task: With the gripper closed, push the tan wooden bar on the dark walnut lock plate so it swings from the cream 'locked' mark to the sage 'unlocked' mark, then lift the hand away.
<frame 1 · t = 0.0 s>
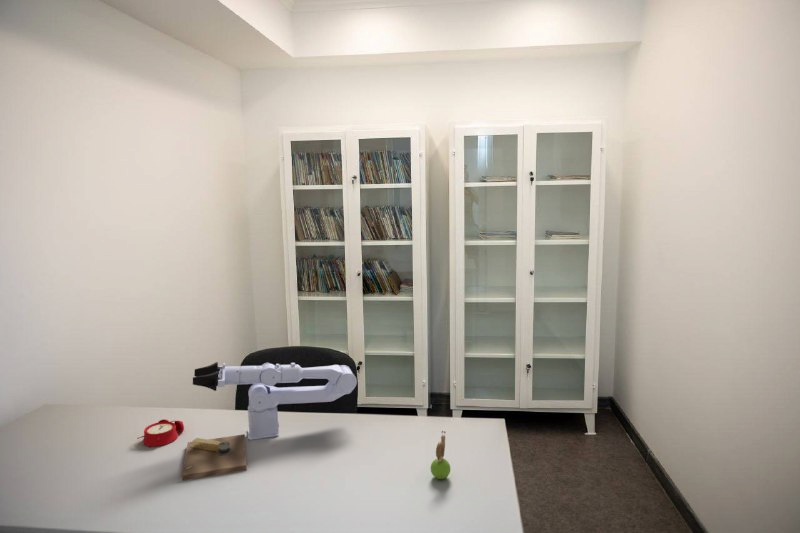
hand: (193, 376, 164), 22 cm above the table, tool horizontal, fingers open, 7 cm apart
alarm clock: (164, 438, 172), on the table
lock plate: (216, 457, 158), on the table
tan wooden bar: (211, 445, 160), point 3 cm above the table, hinge at 0.0°
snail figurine: (441, 477, 146), on the table
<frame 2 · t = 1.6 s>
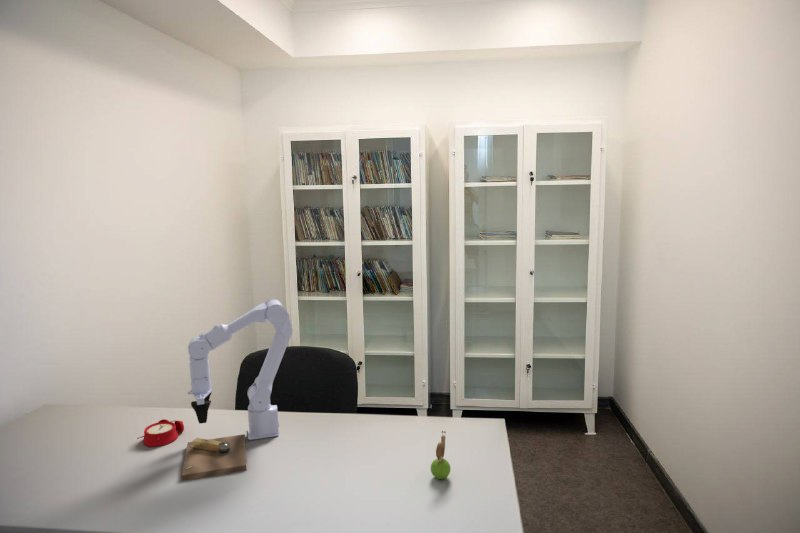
hand: (203, 417, 166), 8 cm above the table, tool pointing down, fingers open, 7 cm apart
nothing on the table moved.
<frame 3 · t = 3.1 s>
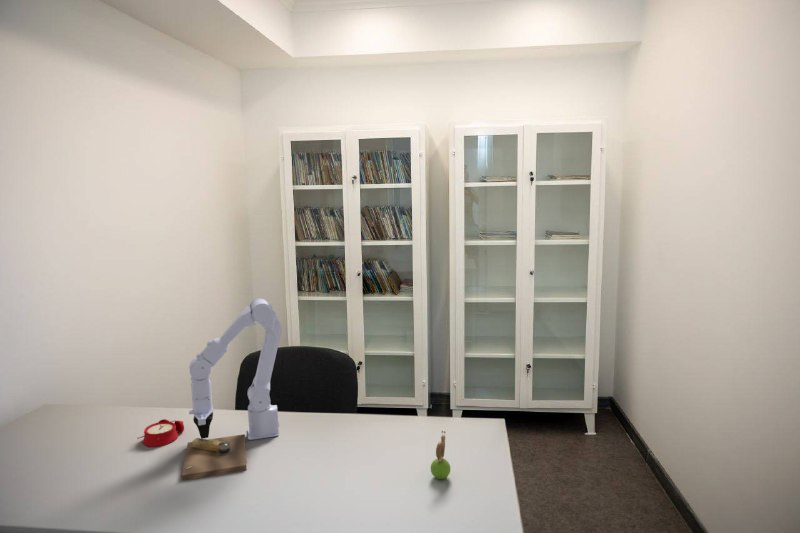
hand: (204, 437, 167), 2 cm above the table, tool pointing down, fingers closed
nothing on the table moved.
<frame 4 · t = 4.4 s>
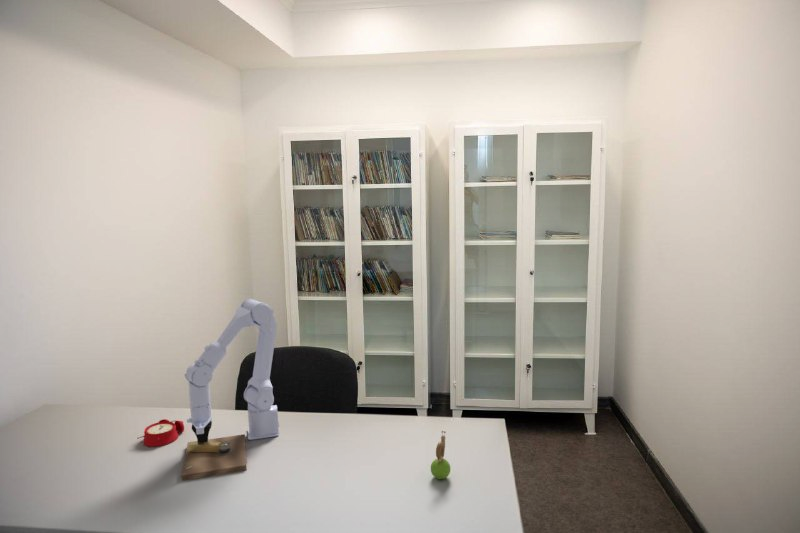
hand: (203, 446, 161), 2 cm above the table, tool pointing down, fingers closed, pressing on tan wooden bar
tan wooden bar: (209, 447, 159), point 3 cm above the table, hinge at 13.1°, touching gripper
everything else where it was.
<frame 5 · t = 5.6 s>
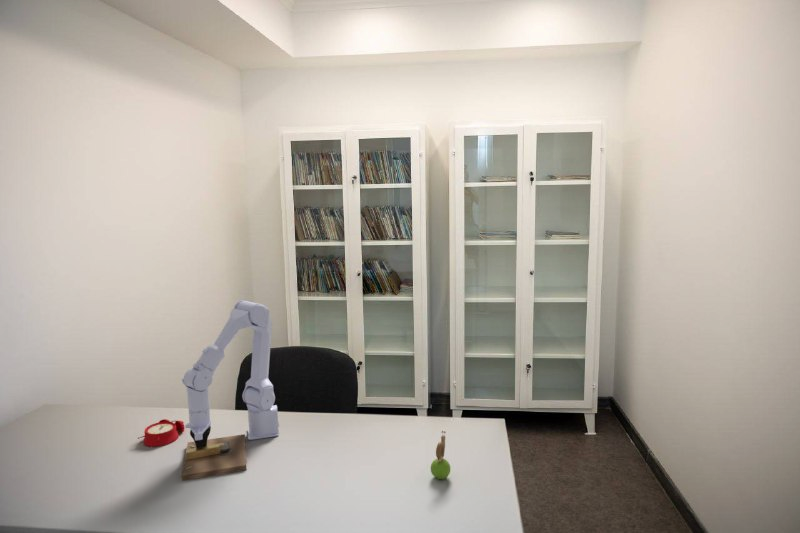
hand: (201, 452, 157), 2 cm above the table, tool pointing down, fingers closed, pressing on tan wooden bar
tan wooden bar: (208, 450, 156), point 3 cm above the table, hinge at 41.7°, touching gripper
everything else where it was.
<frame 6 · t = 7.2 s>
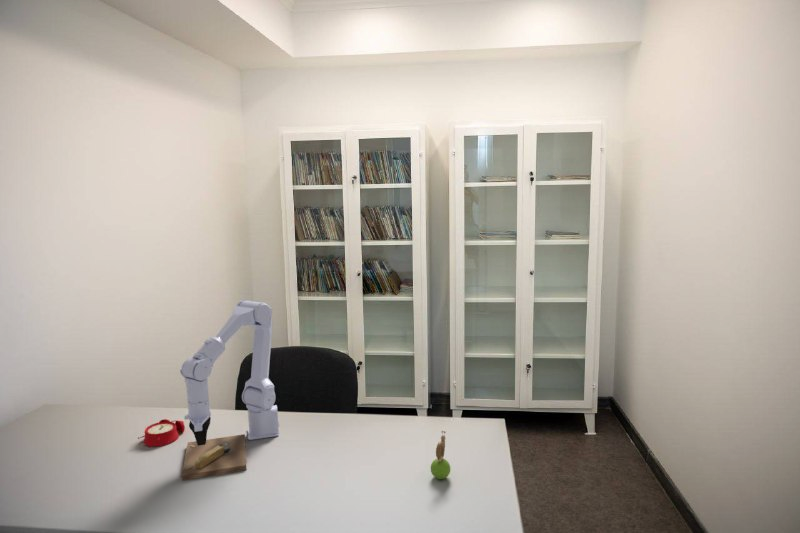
hand: (201, 444, 154), 6 cm above the table, tool pointing down, fingers closed
tan wooden bar: (213, 454, 154), point 3 cm above the table, hinge at 83.1°
everything else where it was.
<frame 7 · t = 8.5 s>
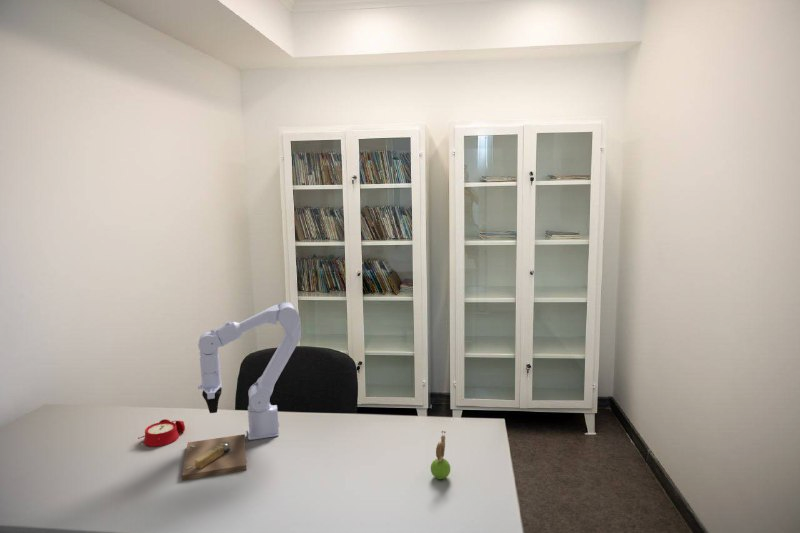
hand: (213, 412, 168), 9 cm above the table, tool pointing down, fingers closed
nothing on the table moved.
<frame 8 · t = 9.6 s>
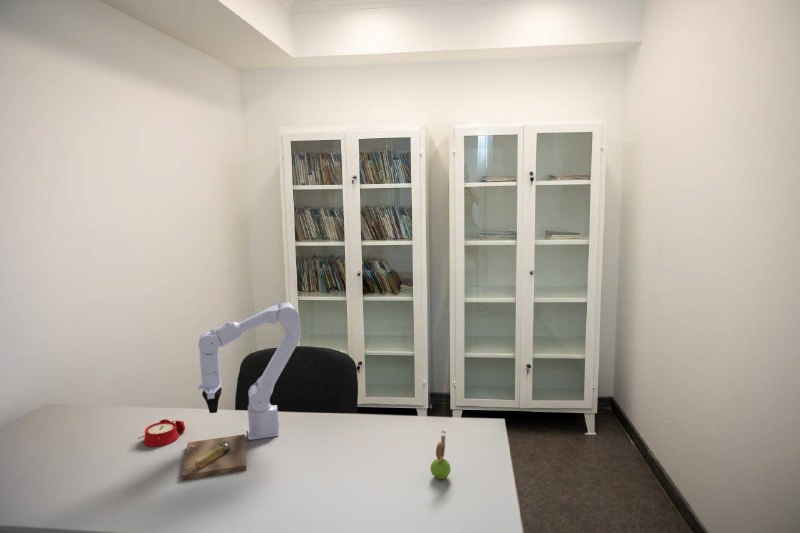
hand: (213, 412, 168), 9 cm above the table, tool pointing down, fingers closed
nothing on the table moved.
at the end: tan wooden bar at +83° (first picture: +0°); the gripper is holding nothing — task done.
